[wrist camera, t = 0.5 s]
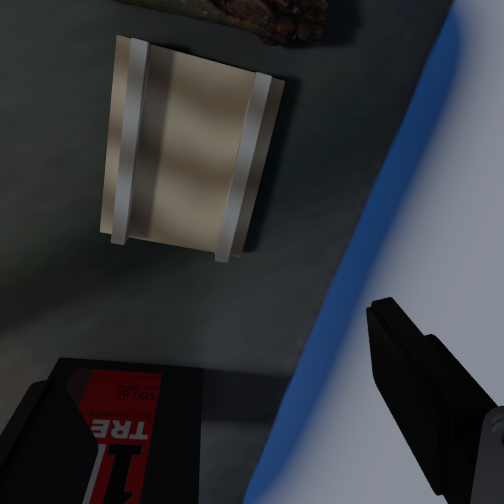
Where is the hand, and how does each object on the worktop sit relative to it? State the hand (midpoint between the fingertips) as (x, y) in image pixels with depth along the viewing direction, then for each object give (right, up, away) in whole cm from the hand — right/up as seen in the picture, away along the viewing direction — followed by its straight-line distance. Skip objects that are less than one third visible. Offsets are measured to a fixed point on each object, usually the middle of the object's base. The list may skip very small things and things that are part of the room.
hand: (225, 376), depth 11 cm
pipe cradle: (-5, +13, +24) cm, 27 cm away
